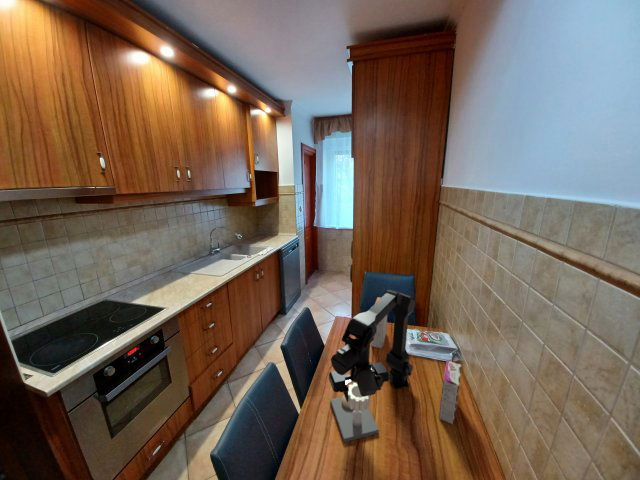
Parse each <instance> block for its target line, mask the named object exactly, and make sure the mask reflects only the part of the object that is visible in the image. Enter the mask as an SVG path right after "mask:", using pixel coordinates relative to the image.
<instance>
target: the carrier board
mask: <svg viewBox="0 0 640 480" xmlns="http://www.w3.org/2000/svg"><path fill="white" fill-rule="evenodd" d="M355 397H359V398H360V396H355ZM330 405H331V408H332V411H333V414H334V417H335V420H336V423H337V425H338V429H339V431H340V435H341V437H342V440H343V443H347V442H350V441H351V442H352V441H354V440H358V439H362V438H365V437H369V436H373V435H376V434H379V432H380V429H379V426H378V424H377V422H376V420H375V419H374V416H373V415H372V413H371V410H370V409H369V408H368V409H367V410H366V409H364V412H361V411H360V410H359V411H358V412H356V411H355V410H354V409H350V406H349V405H347V401H346V398H345V396H344V394H343V395H342V396H338V397H334V398H331V399H330Z"/></svg>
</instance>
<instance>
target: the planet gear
mask: <svg viewBox="0 0 640 480" xmlns="http://www.w3.org/2000/svg"><path fill="white" fill-rule="evenodd" d="M348 389H349V391H348V402H347V405H349V406H350V409H354V410H355V411H356V412H358V411H359V410H360V411H361V412H364V409H366V410H367V409H369V407H370V404H371V396H370V395H369V396H366V397H363V396H362V395H361V394H360V391H359V388H358V385H357V382H355V383H354V382H352V384H351V383H350V384H349V385H348ZM355 396H360V398H359V397H355Z"/></svg>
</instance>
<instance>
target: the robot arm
mask: <svg viewBox="0 0 640 480" xmlns="http://www.w3.org/2000/svg"><path fill="white" fill-rule="evenodd" d="M380 298H381V299H379V300H378V301H377V302H376V301H375V303H374V304H373V305H372V306H371V307H370V308H369V309H368V310H367V311H364V312H360V313H357V314H356V315H354V316H353V317H352V318H351V319H349V321H348V323H347V326H346V328H345V330H344V333H343V336H342V338H341V341H342V342H343V343H344V346H342V347H341V348H339V349H337V350H336V353H334V354H333V355H331V358H330V362H331V367H332V368H333V371H330V372H329V374H328V380H329V383H330V385H331V388H332V390H333V392H334V393H339V392H340V393H343V395H344V396H345V398H346V401H347V402H348V391H349V389H348V388H349V385H348V384H349V383H350V384H351V383H357V385H358V388H359V391H360V394H361V395H362V396H363V397H366V396H369V395H370V397H371V396H373V395H375V394H376V393H377V391H381V390H382V387H383V385H384V383H385V382H390V383H391V384H392V385H393V387H394V388H395V389H396V390H397V389H401V388H406V387H410V386H411V384H410V383H409V381H408V380H409V376H412V371H413V368H414V366H413V364H411V363H410V355H409V353H408V352H407V351H408V350H407V349H406V348H407V346H406V345H407V338H408V337H407V336H408V325H409V324H408V323H409V316H410V315H411V314H412V313H413V312H414V309H415V306H416V302H417V301H416V299H415V298H414V296H412V295H409V294H406V293H403V292H400V291H397V290H396V291H395V290H392V289H386V290H385V292H384V294H383V295H382V296H381V297H380ZM391 311H392V313H393V315H394V320H393V333H392V334H393V335H392V347H391V350H389V351H388V352H387V353H386V361H385V362H386V365H387V366H385V365H384V363H382V362H381V361H380V362H375V363H374V362H373V363H371V362H370V352H371V351H370V350H371V349H370V348H371V342H372V341H373V340H374V338H373V337H374V335H375V334H376V332H377V325H378V324H379V322H380V321H381V320H382V319H383V318H384V317H385V316H386V315H387V316H388V314H389V313H390V312H391ZM351 336H352V337H354V338H352V337H351ZM387 367H389V368H390V371H388V369H387ZM348 372H349V373H348Z"/></svg>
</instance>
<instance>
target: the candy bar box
mask: <svg viewBox="0 0 640 480" xmlns="http://www.w3.org/2000/svg"><path fill="white" fill-rule="evenodd" d="M461 373H462V364H460V363H457V362H454V361H451V360H449V359H448V360H446V363H445V369H444V374H443V382H442V389H441V395H440V396H441V397H440V405H439V416H438V418H439V420H441V421H444V422H446V423H448V424H450V425H451V426H452V425H453V426H454V425H455V420H456V419H455V418H456V414H457V407H458V398H459V392H460V391H459V390H460V384H461V376H462V375H461Z"/></svg>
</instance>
